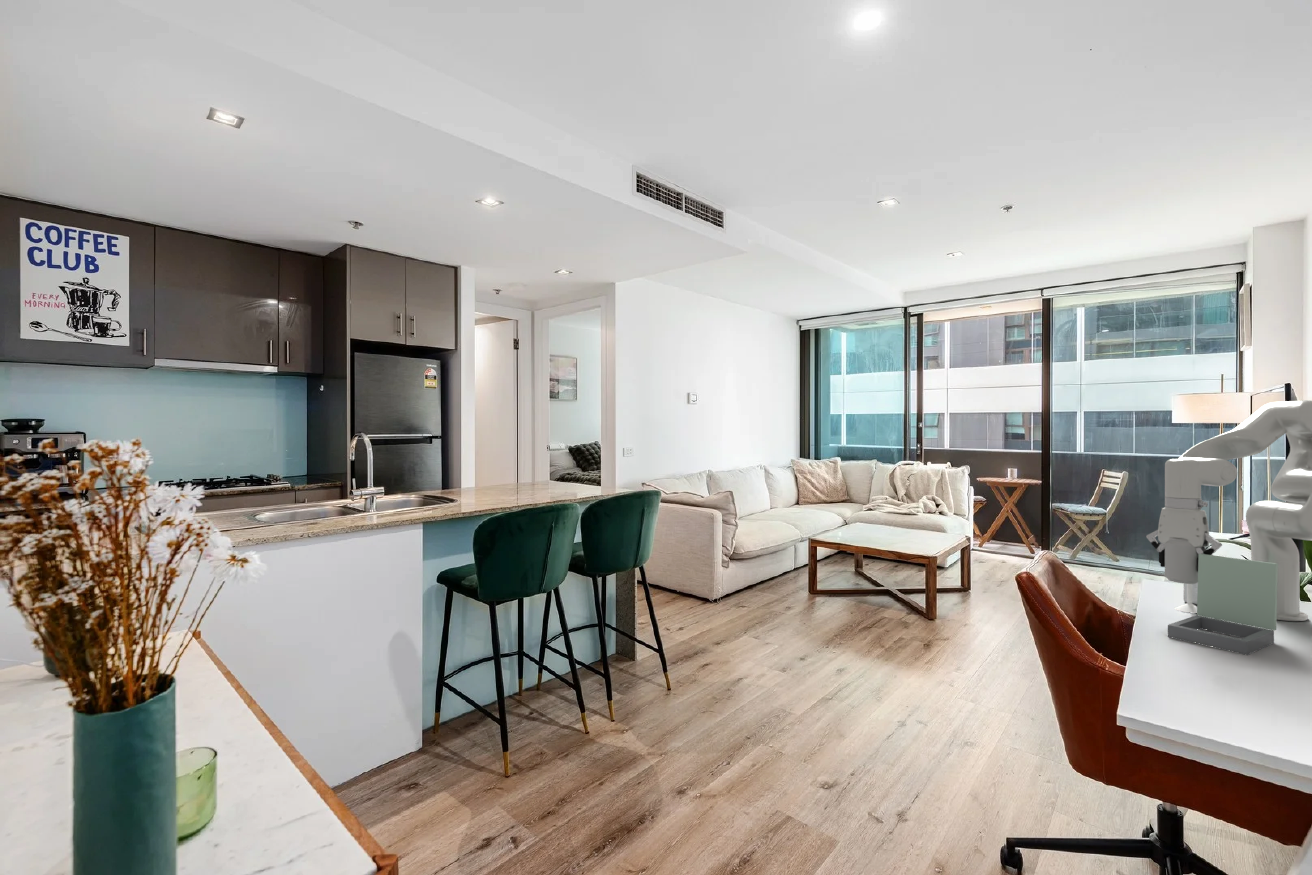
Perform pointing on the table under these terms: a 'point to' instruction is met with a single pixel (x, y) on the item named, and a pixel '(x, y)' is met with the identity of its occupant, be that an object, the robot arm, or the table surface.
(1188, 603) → the champagne flute
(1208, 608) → the plate
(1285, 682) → the table surface
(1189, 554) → the can
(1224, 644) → the duct box
